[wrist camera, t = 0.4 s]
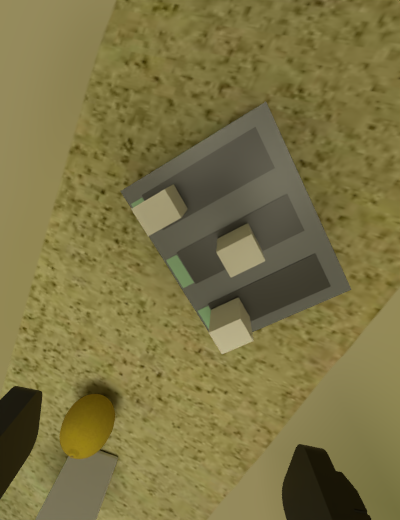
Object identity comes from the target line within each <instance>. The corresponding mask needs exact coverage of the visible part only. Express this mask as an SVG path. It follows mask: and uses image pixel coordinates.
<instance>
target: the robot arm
mask: <svg viewBox="0 0 400 520" xmlns="http://www.w3.org/2000/svg"><path fill="white" fill-rule="evenodd" d="M41 403H42V392H41V391H39V390H34V389H29V388H24V387H19V386H15V387H13V388H12V389H11V390H10V391H9V392H8V393H7V394H6V395H5V396H4V397H3V398H2V399H1V400H0V499H1V497H2V496H3V494H4V493H5V491H6V490H7V488H8V487H9V485H10V484H11V482H12V481H13V479H14V478H15V476H16V474H17V473H18V471H19V470H20V468H21V467H22V465H23V464H24V462H25V461H26V459H27V458H28V456H29V454H30V453H31V451H32V449H33V446H34V444H35V441H36V438H37V435H38V429H39V420H40V412H41ZM282 500H283V507H284V511H285V515H286V519H287V520H371V518H370V516H369V515H368V514H367V510H366V508H365V506H364V504H363V502H362V500H361V498H360V496H359V494H358V492H357V490H356V489H355V488H354V486H353V485H352V484H351V483H350V482H349V480H348V479H347V478H346V477H345V476H344V474H343V473H342V472H337V471H335V469H334V466H333V464H332V462H331V460H330V458H329V456H328V454H327V452H326V451H325V450H324V449H322V448H316V447H312V446H307V445H301V444H299V445H298V446H297V447H296V449H295V452H294V454H293V457H292V460H291V463H290V466H289V468H288V471H287V474H286V476H285V479H284V482H283V487H282Z"/></svg>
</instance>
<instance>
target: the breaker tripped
mask: <svg viewBox="0 0 400 520" xmlns="http://www.w3.org/2000/svg"><path fill="white" fill-rule="evenodd" d="M216 253H217V255H218V256H219V258H220V260H221V262H222V263H223V265H224V267H225V269H226V270H227V272H228V274H229V276H230V277H233V276H236V275H238V274H240V273H242V272H244V271H246V270H248V269H250V268H252V267H254V266H256V265H258V264H260V263H262V262H265V258H264V255H263V253H262V250H261V248H260V245H259V243H258V241H257V240H256V238H255V236H254V234H253V232H252V230H251V228H250V226H249V224H248V223H247V224H245V225H243V226H241V227H239V228H237V229H235V230H233V231H231V232H229V233H228V234H226V235H224V236H222V237H220V238H218V239H217V249H216Z"/></svg>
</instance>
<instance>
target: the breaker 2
mask: <svg viewBox="0 0 400 520" xmlns="http://www.w3.org/2000/svg"><path fill="white" fill-rule="evenodd" d="M209 334H210V336H211V337H212V339H213V340H214V342H215V344H216V345H217V347H218V348H219V350H220V352H221V353H222V354H224V353H226V352H228V351H231V350H233V349H235V348H238V347H240V346H243V345H245V344H247V343H250V342H252V341H253V335H252V328H251V322H250V316H249V315H248V313H247V311H246V310H245V308H244V306H243V304H242V303H241V301H240V299H239V297H238V298H236V299H233V300H231V301H229V302H227V303H225V304H223V305H221V306H218V307H216V308H214V309H212V310H211V314H210V325H209Z"/></svg>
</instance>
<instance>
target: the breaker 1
mask: <svg viewBox="0 0 400 520" xmlns="http://www.w3.org/2000/svg"><path fill="white" fill-rule="evenodd" d="M187 209H188V208H187V207H186V205H185V203H184V201H183V200H182V198H181V196H180V194H179V193H178V191H177V189H176V187H175V186H174V184H173V185H171V186H169V187H168V188H166V189H164V190H162V191H161V192H159V193H157V194H156V195H154V196H152V197H151V198H149V199H147V200H145V201H144V202H142V203H140V204H139V205H137V206H135V207H134V208H132V209H131V210H132V211H133V213H134V214H135V216H136V218H137V219H138V221H139V222H140V224H141V226H142V227H143V229H144V230H145V232H146V234H147V235H148V236H150V235H151V234H153V233H155V232H157V231H159V230H160V229H162V228H164V227H166V226H168V225H169V224H171V223H173V222H175V221H177V220H178V219H180V218H182V216H183V215H184V213H185V212H186V211H187Z"/></svg>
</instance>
